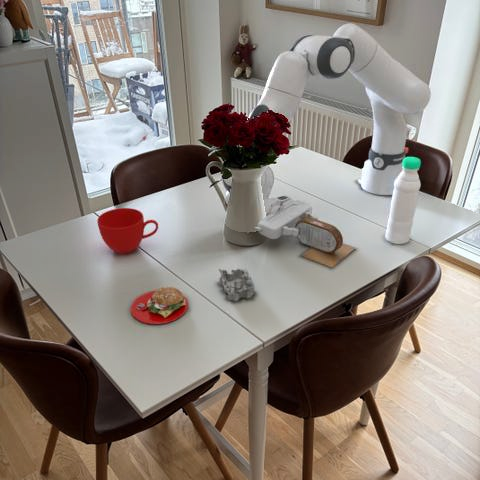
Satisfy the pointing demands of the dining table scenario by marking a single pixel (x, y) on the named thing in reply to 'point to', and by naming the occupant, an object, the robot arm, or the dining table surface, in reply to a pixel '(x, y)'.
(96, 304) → the dining table surface
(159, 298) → the hamburger
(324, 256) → the cork mat
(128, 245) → the ceramic cup
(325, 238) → the tin
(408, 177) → the water bottle
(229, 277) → the grey lumpy block
